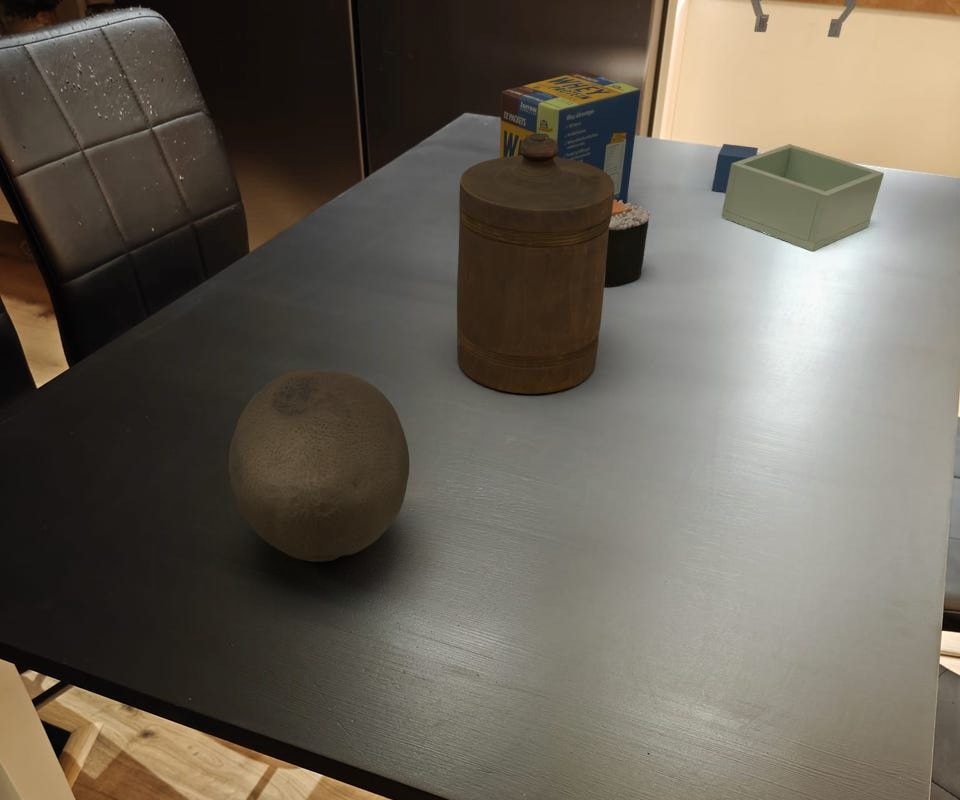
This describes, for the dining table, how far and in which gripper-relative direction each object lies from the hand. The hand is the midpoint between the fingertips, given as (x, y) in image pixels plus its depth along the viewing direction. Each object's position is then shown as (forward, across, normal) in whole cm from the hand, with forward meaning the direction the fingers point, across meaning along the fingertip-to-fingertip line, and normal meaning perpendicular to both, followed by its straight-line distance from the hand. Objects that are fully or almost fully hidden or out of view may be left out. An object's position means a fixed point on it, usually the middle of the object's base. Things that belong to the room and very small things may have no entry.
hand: (796, 34), depth 123 cm
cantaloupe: (+20, +24, +96) cm, 102 cm away
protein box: (+20, +26, +19) cm, 38 cm away
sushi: (+20, +15, +36) cm, 44 cm away
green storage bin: (+20, -5, +11) cm, 23 cm away
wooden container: (+20, +18, +61) cm, 66 cm away
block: (+20, +5, 0) cm, 20 cm away
